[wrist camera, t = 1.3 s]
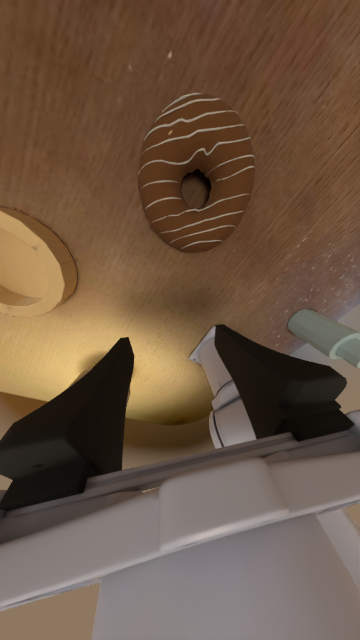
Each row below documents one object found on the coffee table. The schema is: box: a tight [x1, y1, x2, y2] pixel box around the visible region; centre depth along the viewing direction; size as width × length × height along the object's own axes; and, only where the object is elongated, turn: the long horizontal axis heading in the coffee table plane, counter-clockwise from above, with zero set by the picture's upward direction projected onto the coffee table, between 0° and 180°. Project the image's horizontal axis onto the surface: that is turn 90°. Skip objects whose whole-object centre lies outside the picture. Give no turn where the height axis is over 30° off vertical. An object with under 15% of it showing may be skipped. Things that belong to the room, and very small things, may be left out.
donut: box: [138, 93, 254, 252], centre depth 13 cm, size 11×11×4 cm
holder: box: [0, 207, 77, 317], centre depth 14 cm, size 10×10×3 cm
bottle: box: [288, 309, 360, 369], centre depth 22 cm, size 5×5×10 cm
